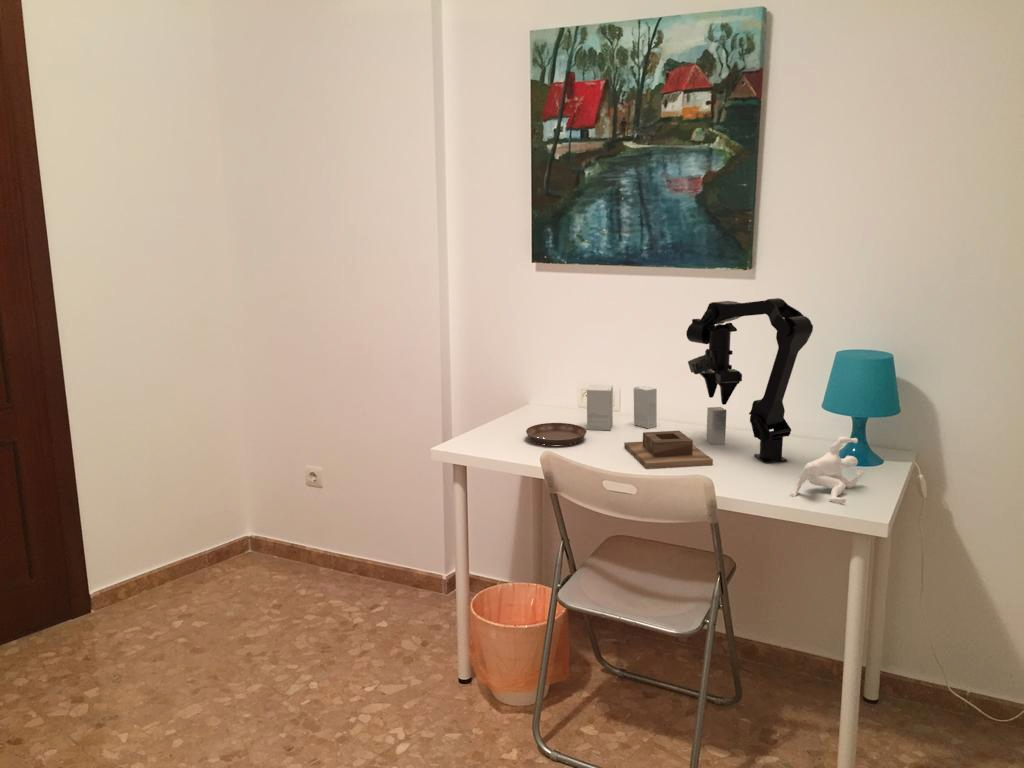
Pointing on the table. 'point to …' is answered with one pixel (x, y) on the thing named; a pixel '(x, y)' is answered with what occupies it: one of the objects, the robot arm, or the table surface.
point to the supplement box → (599, 407)
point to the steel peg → (716, 425)
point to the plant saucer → (556, 433)
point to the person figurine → (830, 471)
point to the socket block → (667, 450)
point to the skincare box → (645, 406)
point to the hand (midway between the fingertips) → (717, 400)
